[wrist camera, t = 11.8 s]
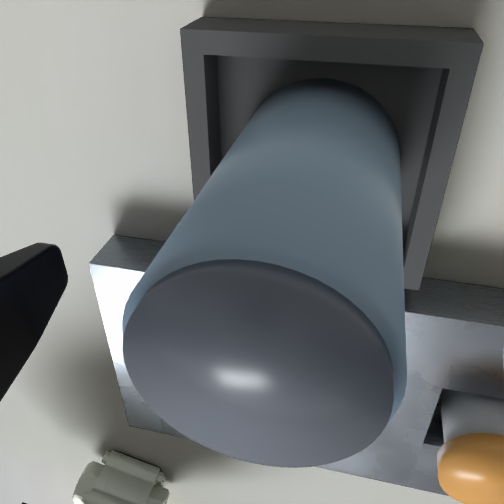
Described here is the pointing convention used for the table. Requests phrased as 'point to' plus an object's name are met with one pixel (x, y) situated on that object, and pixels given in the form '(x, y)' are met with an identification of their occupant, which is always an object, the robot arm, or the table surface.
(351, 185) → the cartridge
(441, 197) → the tray
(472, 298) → the housing
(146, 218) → the table surface
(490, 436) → the plunger
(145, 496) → the pneumatic valve
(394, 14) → the table surface
